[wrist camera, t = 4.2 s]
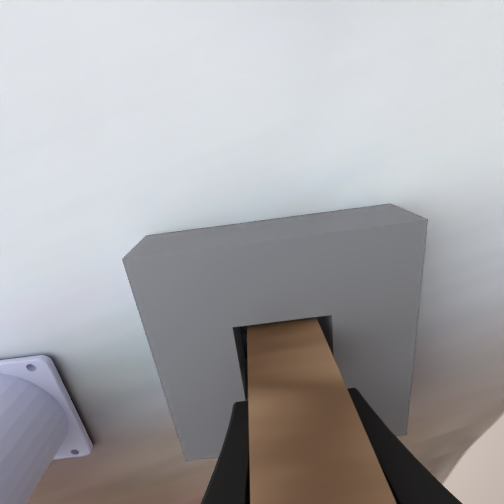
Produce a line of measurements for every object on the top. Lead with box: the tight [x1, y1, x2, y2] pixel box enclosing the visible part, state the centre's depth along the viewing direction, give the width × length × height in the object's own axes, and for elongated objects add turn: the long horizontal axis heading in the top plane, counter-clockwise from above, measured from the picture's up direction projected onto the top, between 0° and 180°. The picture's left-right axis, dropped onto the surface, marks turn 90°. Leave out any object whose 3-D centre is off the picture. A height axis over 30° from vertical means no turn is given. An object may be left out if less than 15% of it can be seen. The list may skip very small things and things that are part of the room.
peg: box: [247, 318, 397, 504], centre depth 10 cm, size 3×3×8 cm
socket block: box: [122, 204, 428, 461], centre depth 12 cm, size 12×14×9 cm
